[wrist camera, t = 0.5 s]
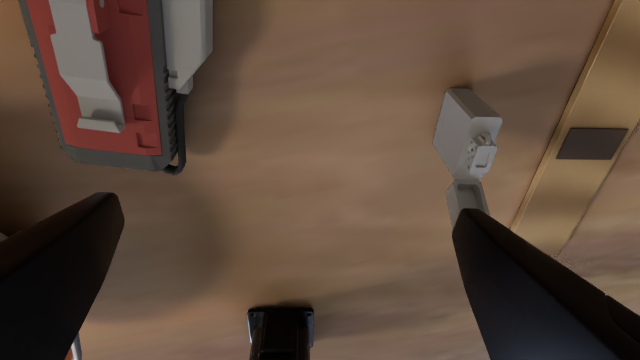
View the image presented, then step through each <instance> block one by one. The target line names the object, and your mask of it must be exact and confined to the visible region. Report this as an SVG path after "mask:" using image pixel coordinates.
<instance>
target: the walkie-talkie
mask: <svg viewBox="0 0 640 360" xmlns="http://www.w3.org/2000/svg"><path fill="white" fill-rule="evenodd" d="M18 1H19V4H20V8H21V11H22V15H23V18H24V22H25V25H26V29H27V32H28V36H29V39H30V43H31V46H32V47H33V48H34V52H35V54H34V56H35V58H36V59H37V62H38V65H37V67H38V68H39V69H40V73H41V75H40V77H41V79H42V80H43V83H44V85H43V88H44V89H45V90H46V97H47V98H48V101H49V104H48V105H49V107H50V108H51V111H52V112H51V116H53V119H54V122H53V123H54V125H55V126H56V129H57V130H56V133H58V136H59V138H58V140H59V141H60V143H61V146H60V147H61V148H62V149H63V150H64V151H65V152H66V153H67V154H68V155H69V156H70V157H71V158H72V159H73V160H74V161H76V162H79V163H85V164H93V165H102V166H111V167H119V168H128V169H137V170H146V171H159V170H163V171H164V172H165V173H168V174H171V175H177V174H179V173H181V172H182V170H183V168H184V167H185V164H186V148H185V130H184V103H185V101H186V99H187V97H188V94H189V92H190V91H191V90H192V88H193V74H194V73H195V71H196V70H197V69H198V68H199V67H200V65H201V64H202V63H203V62H204V61H205V60H206V58H207V57H208V56H209V55H210V53H211V52H212V51H213V0H18ZM179 93H180V94H179ZM177 152H178V161H179V163H178V166H173V165H170V164H169V163H170V162H171V161H173V159H174V157H175V155H176V154H177Z"/></svg>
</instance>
